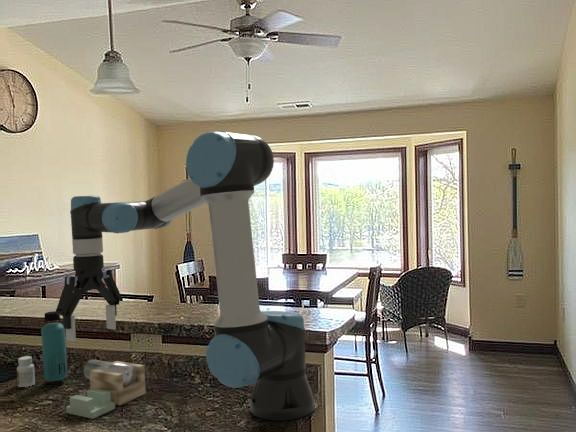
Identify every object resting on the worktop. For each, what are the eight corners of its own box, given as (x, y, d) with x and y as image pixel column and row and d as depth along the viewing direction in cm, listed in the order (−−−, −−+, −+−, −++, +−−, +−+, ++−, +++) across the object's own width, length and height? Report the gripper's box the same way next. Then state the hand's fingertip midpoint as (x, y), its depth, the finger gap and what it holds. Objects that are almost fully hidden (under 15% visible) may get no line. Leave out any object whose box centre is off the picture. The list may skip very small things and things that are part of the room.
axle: (137, 382, 150) (136, 363, 150) (123, 388, 146) (122, 368, 146) (98, 375, 157) (97, 357, 157) (83, 381, 153) (83, 362, 153)
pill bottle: (20, 383, 164) (19, 356, 164) (37, 382, 164) (35, 355, 164) (15, 388, 160) (13, 360, 159) (32, 387, 160) (30, 359, 160)
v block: (115, 408, 142) (114, 392, 142) (92, 419, 136) (91, 402, 136) (89, 402, 146) (88, 387, 146) (66, 412, 140) (65, 396, 140)
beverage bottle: (59, 386, 160) (56, 314, 159) (38, 386, 161) (34, 314, 160) (73, 379, 166) (69, 309, 165) (52, 378, 167) (48, 309, 166)
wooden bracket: (145, 393, 152) (144, 365, 152) (119, 405, 144) (118, 375, 144) (117, 388, 157) (116, 360, 156) (90, 399, 149) (89, 370, 148)
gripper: (113, 249, 166) (116, 323, 167) (37, 259, 144) (42, 344, 145) (133, 249, 162) (136, 325, 163) (58, 260, 140) (62, 348, 141)
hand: (91, 334), depth 154 cm, fingers open, 13 cm apart
